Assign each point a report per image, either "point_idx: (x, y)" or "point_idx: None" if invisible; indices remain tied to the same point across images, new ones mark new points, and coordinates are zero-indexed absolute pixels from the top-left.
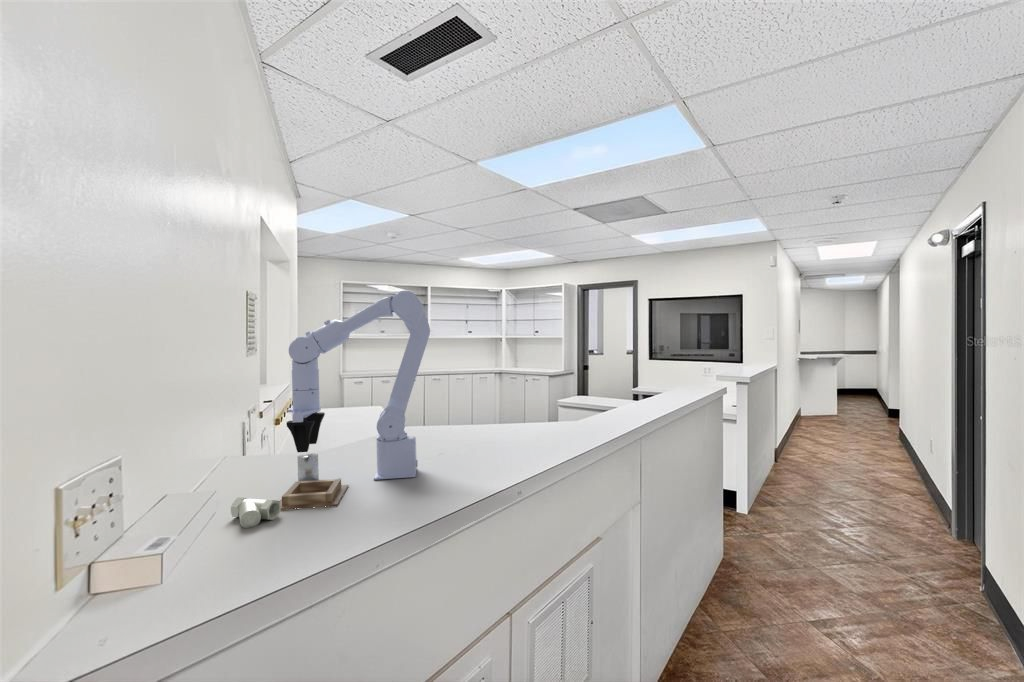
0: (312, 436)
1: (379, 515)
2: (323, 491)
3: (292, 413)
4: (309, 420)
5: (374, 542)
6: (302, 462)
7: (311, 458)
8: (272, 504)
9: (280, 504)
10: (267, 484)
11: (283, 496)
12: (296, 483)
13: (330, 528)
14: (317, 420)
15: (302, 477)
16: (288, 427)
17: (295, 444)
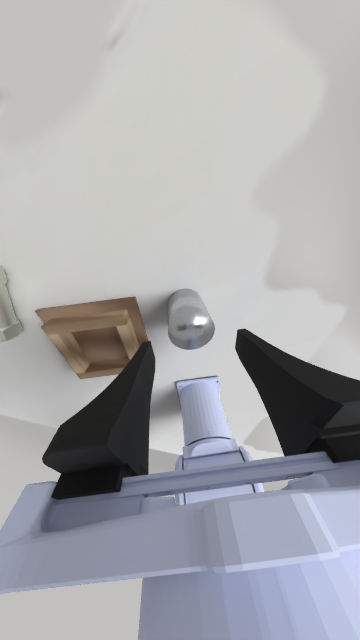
0: (247, 357)
1: (71, 406)
2: (124, 348)
3: (141, 520)
4: (288, 407)
5: (15, 415)
6: (168, 323)
7: (174, 342)
8: (5, 327)
9: (12, 337)
10: (173, 224)
11: (43, 329)
12: (112, 321)
13: (22, 385)
14: (278, 423)
15: (168, 307)
16: (68, 422)
17: (132, 357)
